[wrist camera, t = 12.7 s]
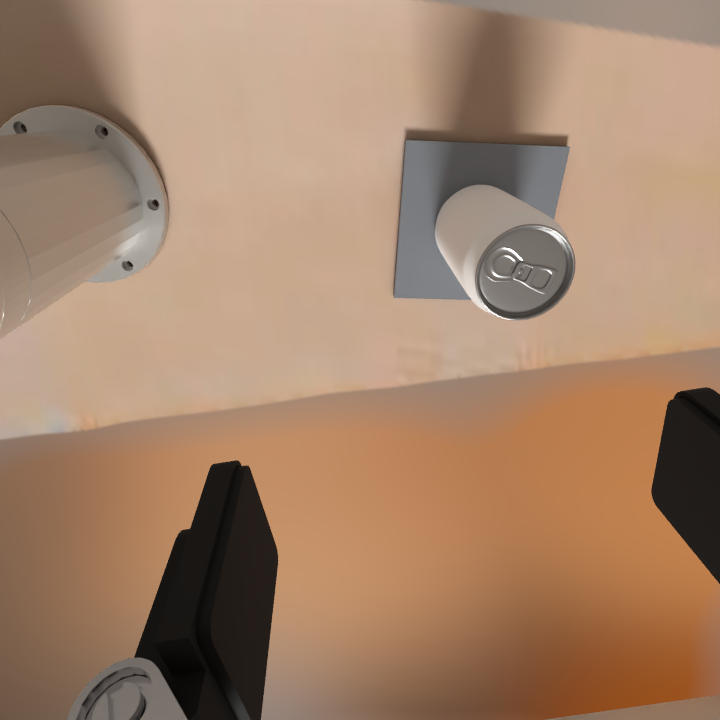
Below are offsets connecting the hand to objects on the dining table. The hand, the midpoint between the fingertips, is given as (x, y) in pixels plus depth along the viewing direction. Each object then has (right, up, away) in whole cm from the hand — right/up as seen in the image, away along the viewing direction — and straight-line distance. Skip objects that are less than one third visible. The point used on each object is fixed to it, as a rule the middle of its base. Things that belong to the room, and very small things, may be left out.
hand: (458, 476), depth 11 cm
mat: (+7, +13, +27) cm, 31 cm away
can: (+7, +13, +27) cm, 31 cm away
